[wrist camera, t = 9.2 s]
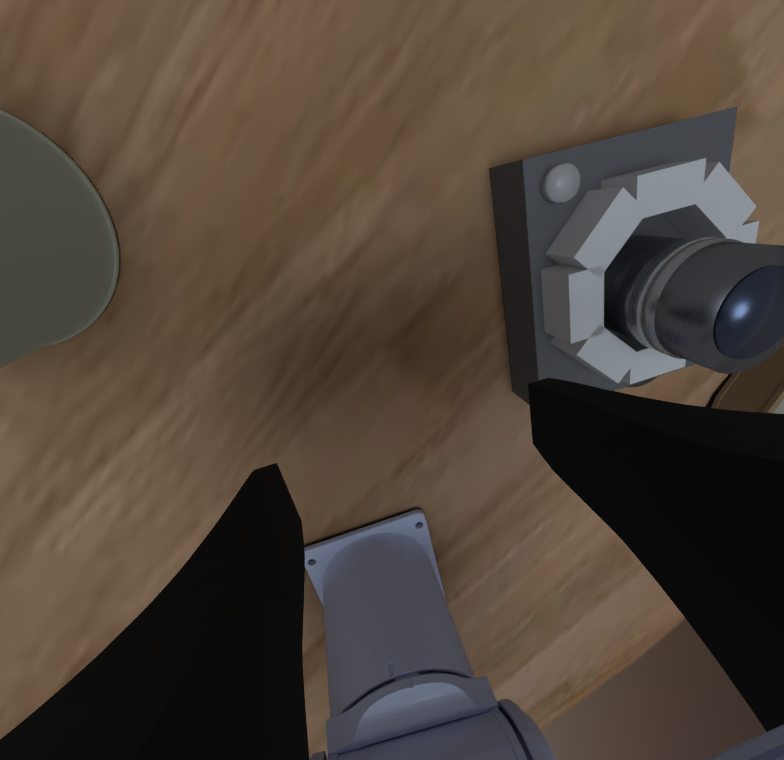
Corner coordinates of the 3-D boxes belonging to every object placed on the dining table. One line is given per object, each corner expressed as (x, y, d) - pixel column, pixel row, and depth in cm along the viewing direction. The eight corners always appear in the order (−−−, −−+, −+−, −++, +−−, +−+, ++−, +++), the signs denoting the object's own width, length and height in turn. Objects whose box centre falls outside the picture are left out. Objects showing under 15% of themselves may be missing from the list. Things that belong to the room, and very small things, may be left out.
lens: (684, 247, 19) (845, 263, 13) (638, 338, 20) (765, 387, 15) (608, 219, 17) (751, 224, 12) (565, 319, 19) (674, 365, 13)
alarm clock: (898, 408, 28) (773, 580, 28) (807, 390, 32) (700, 537, 32) (855, 310, 23) (706, 515, 23) (757, 305, 28) (632, 476, 28)
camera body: (660, 345, 24) (742, 373, 20) (512, 391, 23) (564, 433, 19) (676, 122, 19) (790, 93, 15) (489, 168, 18) (551, 151, 14)
